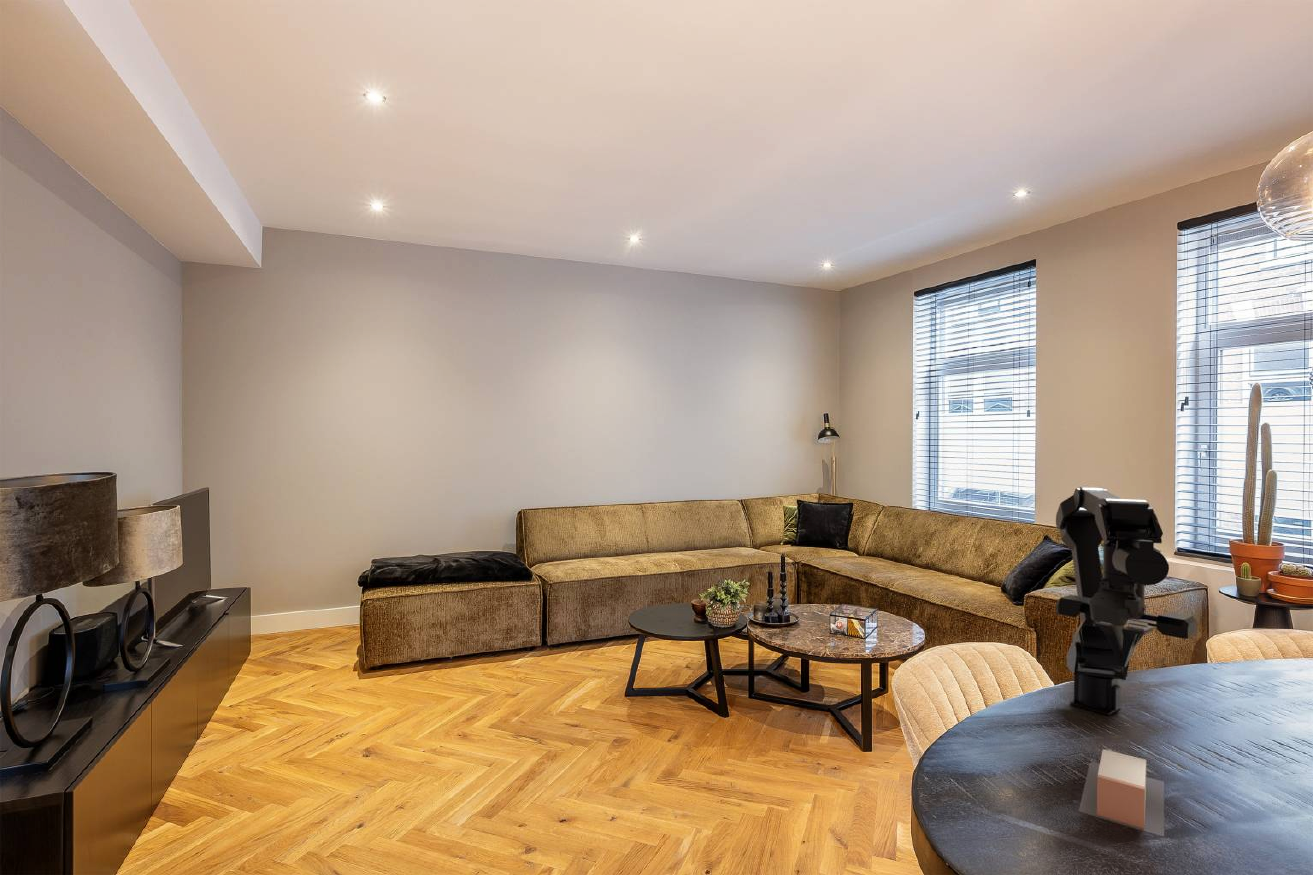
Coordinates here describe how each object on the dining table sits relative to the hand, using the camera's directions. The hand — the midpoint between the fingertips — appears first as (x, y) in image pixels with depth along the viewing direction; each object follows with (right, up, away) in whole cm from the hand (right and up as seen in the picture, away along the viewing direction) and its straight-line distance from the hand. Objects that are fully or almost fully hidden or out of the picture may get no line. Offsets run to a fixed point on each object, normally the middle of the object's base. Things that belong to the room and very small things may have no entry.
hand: (1122, 666), depth 111 cm
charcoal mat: (-14, -12, -19) cm, 26 cm away
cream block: (-12, -9, -18) cm, 23 cm away
